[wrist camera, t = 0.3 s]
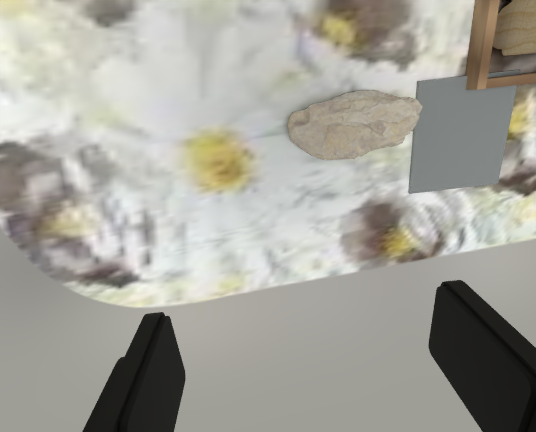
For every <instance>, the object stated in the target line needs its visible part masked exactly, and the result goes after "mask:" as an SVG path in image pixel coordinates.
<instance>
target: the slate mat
mask: <svg viewBox="0 0 536 432" xmlns="http://www.w3.org/2000/svg"><path fill="white" fill-rule="evenodd" d="M519 73H520V70H512V71H503V72H494V73H488V77H487V78H492V77H500V76H509V75H518V74H519ZM466 83H467V76H460V77H451V78H443V79H434V80H426V81H417V92H416V99H417V100H418V101H419V103H420V104H421V105H422V106H423V107H422V110H421V111H420V113H419V117H420V118H419V119H418V121H417V124H416V125H415V127H414V130H413V143H412V156H411V169H410V181H409V193H410V194H412V193H420V192H429V191H437V190H446V189H454V188H463V187H471V186H480V185H489V184H497V183H498V180H499V175H500V170H501V165H502V160H503V155H504V150H505V145H506V139H507V134H508V129H509V124H510V119H511V114H512V109H513V104H514V99H515V94H516V89H517V85H513V86H504V87H496V88H487V89H478V90H466Z"/></svg>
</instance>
